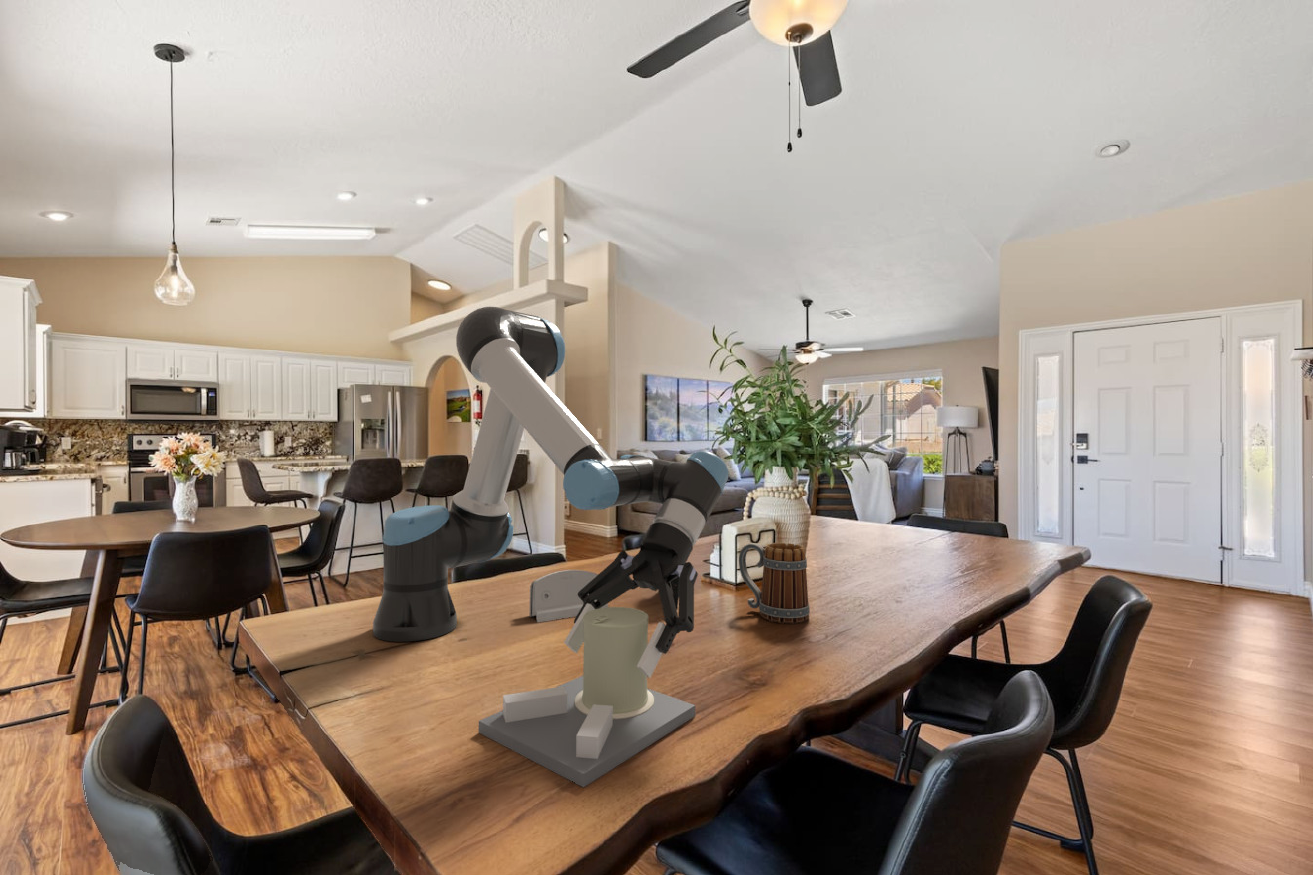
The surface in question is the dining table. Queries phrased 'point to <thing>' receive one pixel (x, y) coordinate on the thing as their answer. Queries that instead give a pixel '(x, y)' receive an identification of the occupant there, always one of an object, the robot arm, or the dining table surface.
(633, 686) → the can
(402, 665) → the dining table surface
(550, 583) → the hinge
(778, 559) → the mug
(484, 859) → the dining table surface
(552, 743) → the coupling stand
